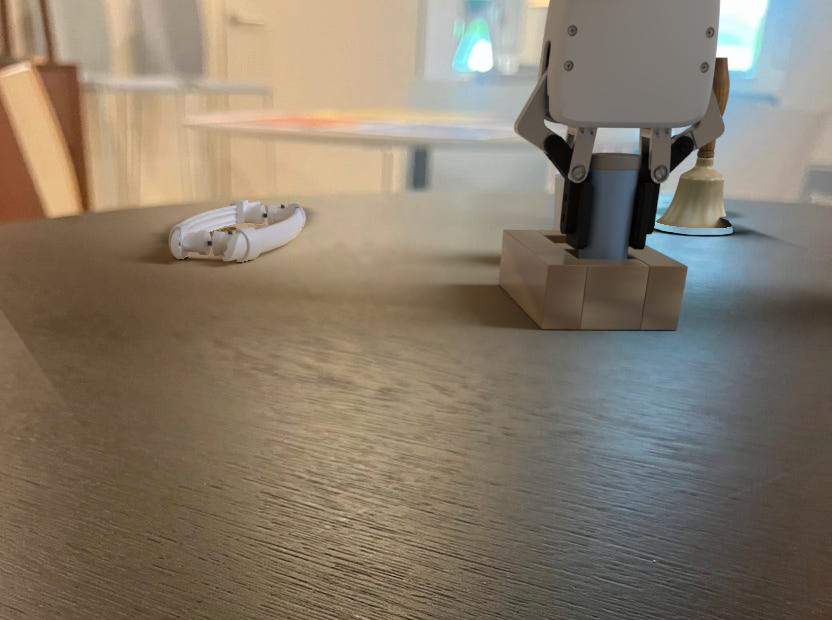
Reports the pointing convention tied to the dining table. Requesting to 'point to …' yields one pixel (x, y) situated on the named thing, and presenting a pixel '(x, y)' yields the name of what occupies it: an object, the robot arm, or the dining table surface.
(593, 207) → the cylindrical bottle
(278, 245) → the white oval frame
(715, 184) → the hand bell
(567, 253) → the holder
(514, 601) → the dining table surface
